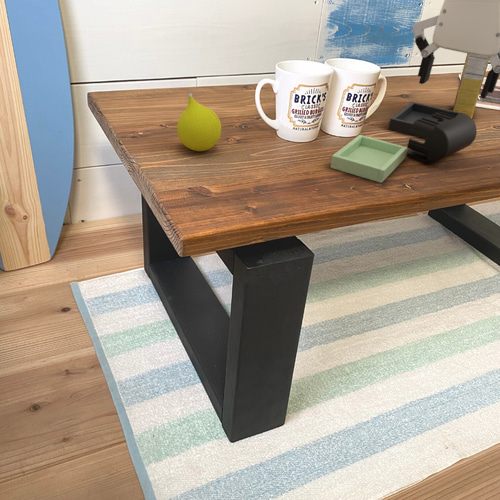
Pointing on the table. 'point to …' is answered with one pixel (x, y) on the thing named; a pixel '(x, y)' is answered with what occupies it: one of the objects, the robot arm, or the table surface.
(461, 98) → the candy box
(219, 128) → the ornament
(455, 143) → the end cap
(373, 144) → the sage tray
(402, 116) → the charcoal tray
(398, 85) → the table surface
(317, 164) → the table surface
